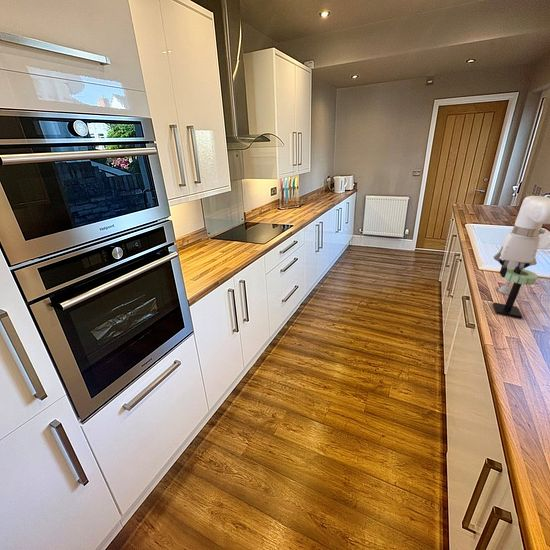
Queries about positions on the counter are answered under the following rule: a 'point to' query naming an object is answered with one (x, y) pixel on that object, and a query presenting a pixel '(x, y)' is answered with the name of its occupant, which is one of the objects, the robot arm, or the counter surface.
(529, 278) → the ring
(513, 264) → the chalice
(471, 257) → the counter surface
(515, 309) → the post
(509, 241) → the robot arm
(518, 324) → the counter surface
